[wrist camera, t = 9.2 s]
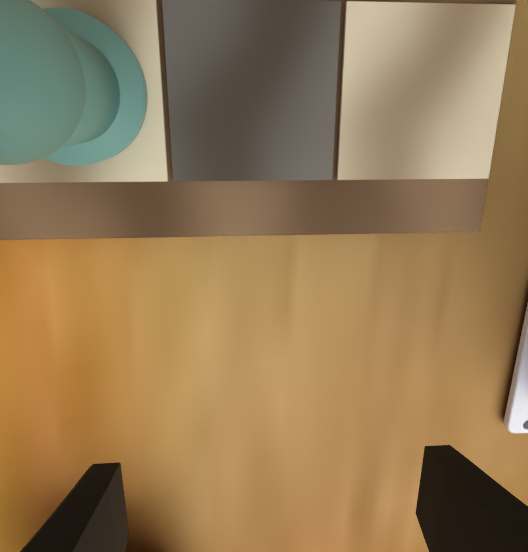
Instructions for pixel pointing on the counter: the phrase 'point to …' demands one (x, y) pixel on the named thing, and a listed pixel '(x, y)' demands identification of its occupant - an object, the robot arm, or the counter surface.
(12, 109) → the pawn
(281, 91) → the board
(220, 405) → the counter surface
